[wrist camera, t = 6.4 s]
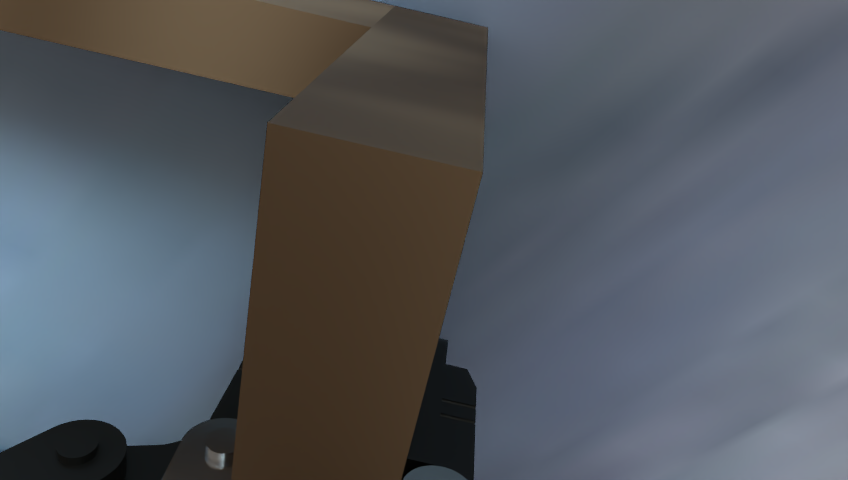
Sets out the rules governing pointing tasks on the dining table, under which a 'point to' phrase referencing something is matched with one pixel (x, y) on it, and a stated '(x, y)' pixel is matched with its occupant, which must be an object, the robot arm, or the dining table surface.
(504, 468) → the dining table surface
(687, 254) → the dining table surface
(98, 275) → the dining table surface
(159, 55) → the frame
